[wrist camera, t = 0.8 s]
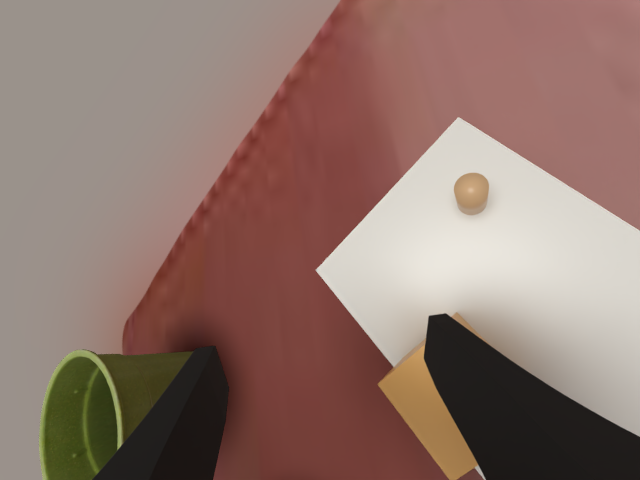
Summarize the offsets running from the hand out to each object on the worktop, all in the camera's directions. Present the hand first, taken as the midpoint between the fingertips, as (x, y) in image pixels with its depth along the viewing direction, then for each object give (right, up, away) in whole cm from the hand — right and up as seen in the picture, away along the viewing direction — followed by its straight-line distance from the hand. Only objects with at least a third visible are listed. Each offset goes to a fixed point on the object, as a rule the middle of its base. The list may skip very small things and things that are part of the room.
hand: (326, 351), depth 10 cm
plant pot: (-13, -12, +21) cm, 28 cm away
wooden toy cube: (+9, -4, +9) cm, 13 cm away
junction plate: (+11, 0, +10) cm, 15 cm away
